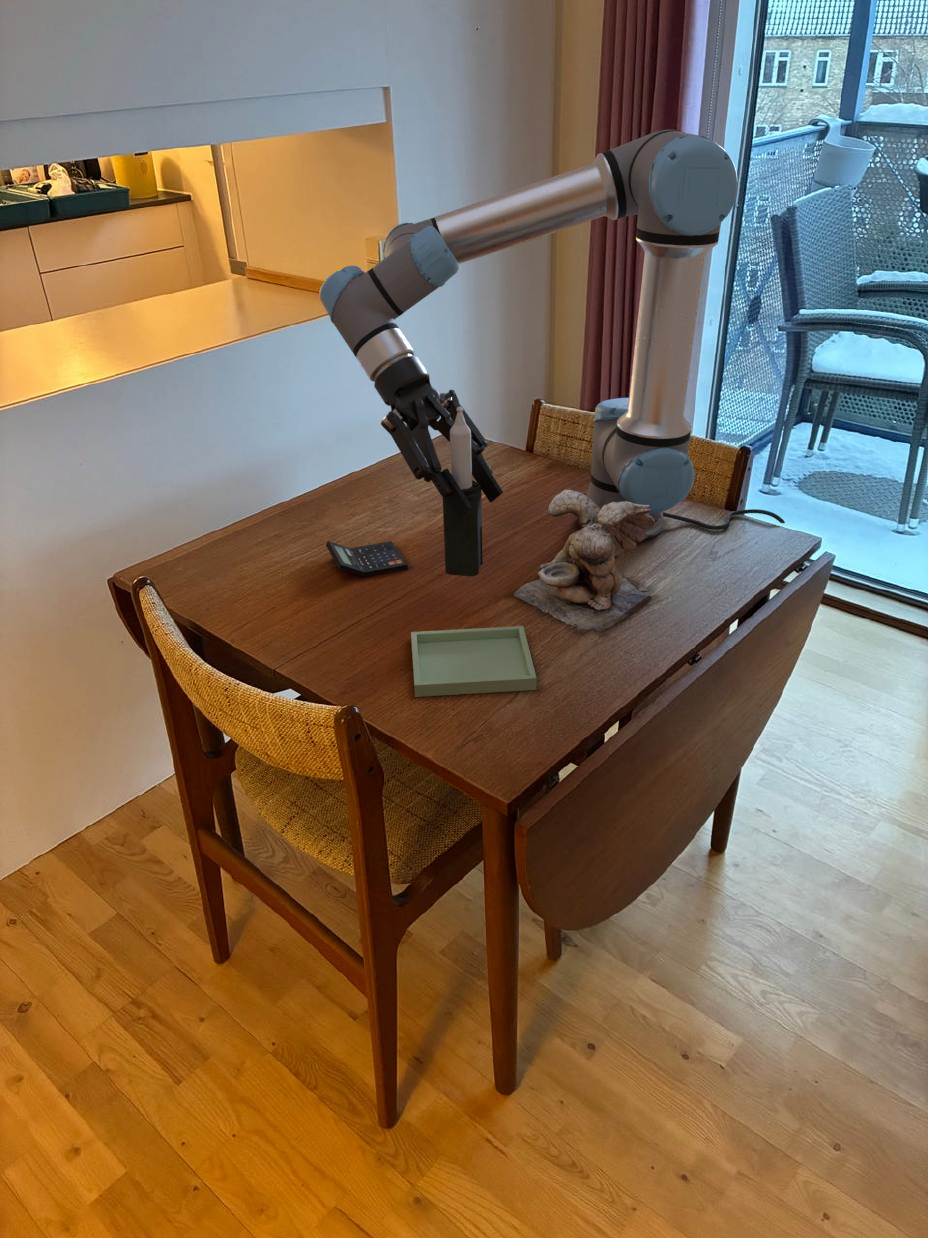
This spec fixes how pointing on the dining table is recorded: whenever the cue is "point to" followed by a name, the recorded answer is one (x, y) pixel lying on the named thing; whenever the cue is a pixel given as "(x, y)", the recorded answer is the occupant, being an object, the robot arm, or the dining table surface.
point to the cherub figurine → (591, 564)
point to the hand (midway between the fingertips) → (481, 504)
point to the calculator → (367, 558)
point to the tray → (471, 661)
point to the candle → (467, 529)
